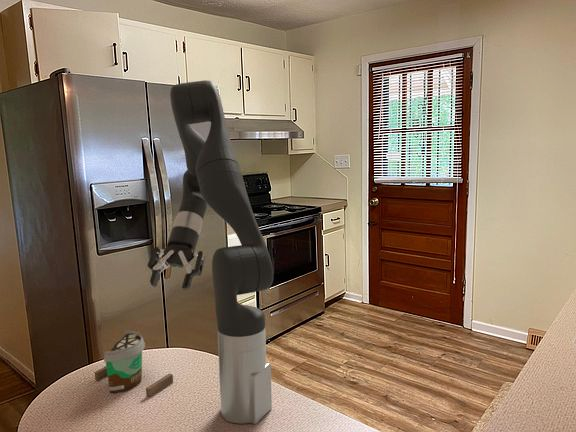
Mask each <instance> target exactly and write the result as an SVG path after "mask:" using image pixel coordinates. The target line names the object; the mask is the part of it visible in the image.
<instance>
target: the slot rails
mask: <svg viewBox="0 0 576 432" xmlns="http://www.w3.org/2000/svg"><path fill="white" fill-rule="evenodd" d="M94 378H95V380H94V381H96V382H99V381H102V380H104V379H105V378H108V375H107V368H106V365H105V366H103V367H102V368H99V369H98V370H95V371H94ZM173 383H174V375H173V374H172V373H167V374H166V375H164V376H163V377H161V378H159V379H158V380H157V381H155V382H153V383H152V384H150V385H148V386H146V388H145V394H146V395H145V396H146V398H148V399H151V398H152V397H154V396H155V395H157V394H159V393H160V392H162V390H163V391H164V389H166V388H168V387H170V385H173Z"/></svg>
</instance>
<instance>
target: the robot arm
mask: <svg viewBox="0 0 576 432" xmlns="http://www.w3.org/2000/svg"><path fill="white" fill-rule="evenodd" d="M169 94H170V95H169V97H170V104H171V110H172V114H173V118H174V122H175V125H176V128H177V132H178V135H179V138H180V141H181V145H182V147H183V150H184V156H185V157H184V159H185V165H186V169H187V170H186V171H184V173H183V176H182V198H181V203H180V206H179V209H178V212H177V214H176V217H175V219H174V222H173V225H172V228H171V231H170V234H169V237H168V240H167V245H166V247H165V248H163V249H162V248H159V247H158V246H155V247H154V248H153V250H152V252H151V256H150V258H149V259H148V260H149V261H148V263H147V268H148V269H149V270H151V271H152V273H151V276H150V280H149V283H150V285H151V286H152V287H154V288H157V286H158V284H159V280H160V277H161V273H162V272H163V271H164V270H166V269H167V270H168V269H169V268H170V267H172V268H174V267H175V268H176V267H177V268H183V267H184V268H185V271H186V273H185V275H184V278H183V282H182V285H181V289H182V290H183V291H188V289H190V287H191V286H192V281H193V278H194V277H197V276H199V277H200V276H202V273H203V268H204V263H205V258H206V256H205V254H204V252H203V251H202V250H199V251H197V252H195V250H196V248H197V245H198V241H199V237H200V235H201V233H202V231H201V230H202V227H203V221H204V217H205V214H206V210H207V205H208V206H209V207H210V208H211V209H212V210H213V211H214V212H215V213H216V214H217V215H218V216H219V217H220V218H222V219H223V220H224V221H225V222H226V223H227V224H228V225H229V226H230V227H231V228H232V230H233V232H234V233H235V235H236V237H237V239H238V240H239V243H240V244H241V245H234V246H233V245H232V246H224V247H220V248H217V249H216V250H215V251H214V253H213V256H212V259H211V260H212V261H211V270H212V271H211V272H212V282H213V283H212V284H213V291H214V292H213V293H214V306H215V308H214V309H215V315H216V322H217V323H216V325H217V344H218V345H217V347H218V348H217V350H218V351H217V352H218V370H219V394H220V412H221V413H220V414H221V417H222V418H223V419H225V420H226V421H227V422H230V423H233V424H254V425H256V424H257V423H259V421H261V420H262V419H263V418H264V417H265V416H266V415H267V414H268V413H269V411H271V409H272V408H273V407H272V405H273V403H272V402H273V401H272V370H271V369H272V366H271V365H272V364H271V363H270V362H267V344H266V343H267V341H266V338H267V337H266V333H267V332H266V314H265V313H264V311H263V310H261V309H260V308H258V307H256V306H252V305H247V304H242V303H239V302H238V296H242V295H246V294H252V293H256V292H257V293H258V292H260V291H267V290H268V289H269V288H271V286H272V284H273V282H274V268H273V266H274V265H273V263H272V258H271V255H270V252H269V249H268V247H267V244H266V242H265V239H264V237H263V234H262V232H261V229H260V227H259V225H258V222H257V220H256V219H257V218H256V217H255V214H254V211H253V210H252V206H251V202H250V199H249V195H248V192H247V188H246V184H245V182H244V181H245V180H244V177H243V174H242V170H241V167H240V164H239V161H238V158H237V156H236V153H235V150H234V149H235V148H234V146H233V144H232V141H231V138H230V135H229V134H230V133H229V129H228V126H227V121H226V117H225V112H224V108H223V104H222V100H221V99H222V98H221V95H220V93H219V89H218V87H217V85H216V84H215V83H214V82H213V81H212V80H198V81H190V82H181V83H177V84H174V85H172V86H171V88H170V92H169ZM208 122H209V123H210V126H209V127H210V128H209V132H208V135H207V138H204V137H203V136H202V134H200V133H198V132H197V131H196V130H195V129H194V128H193V127H192V126H191V125H193V124H201V123H208ZM196 194H198V195H201V196H202V197H201V196H198V195H196ZM163 255H164V256H163ZM162 256H163V257H162ZM193 259H195V260H196V261H195V265H194V268H193V267H192V265H191V261H193Z"/></svg>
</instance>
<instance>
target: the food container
mask: <svg viewBox="0 0 576 432" xmlns="http://www.w3.org/2000/svg"><path fill="white" fill-rule="evenodd" d="M124 331H125V333H124V334H125V335H124V336H122V338H121V339H120V340H117V342H115V344H114V345H113V347H112V348H111V349H110V350H109V351H104V359H103V362H104V363H105V366H106V368H107V375H108V376H107V381H108V388H109V394H110V395H115V394H116V395H117V394H120V393H125V392H128V391H131V390H133V389H134V388H137V387H138V386H139V385H140V384H141V382H142V379H143V375H142V374H143V350H144V349H145V348H146V343H145V341H144V338H143V336H142V334H141V333H140V332H138V331H134V330H124Z"/></svg>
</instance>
